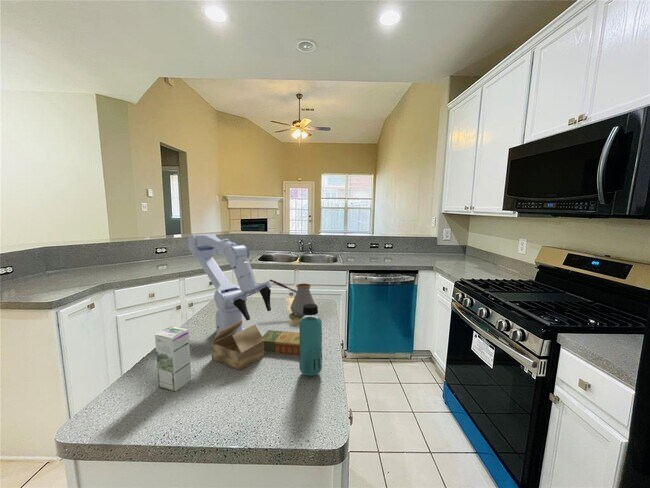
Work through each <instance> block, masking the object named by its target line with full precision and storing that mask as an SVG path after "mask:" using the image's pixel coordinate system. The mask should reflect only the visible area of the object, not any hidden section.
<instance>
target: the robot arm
mask: <svg viewBox="0 0 650 488" xmlns="http://www.w3.org/2000/svg"><path fill="white" fill-rule="evenodd" d="M187 247H188V250H189V251H190V253H191V255H192V256H193V258H196V260H197V261H198V263H199V264H200V266H201V268H202V269H203V271H204V272H205V274H206V275H207V277H208V278H209V280H210V282H211V283H212V285H213V286H214V288H215V289H216V290H215V291H214V295H213V299H214V301H215V305H216V307H217V310H216V312H215V330H213V331H214V333H216V334H217V333H218V331H219V330H222V329H224V328H226V327H229V326H231V325H233V324H235V323H238V322H240V321H243V317H244V319H245V321H250V320H251V316H250V314H249V312H248V307H247V299H248V298H249V297H251V296H252V295H255V294H257V293H259V294H260V296H261V297H262V300H263V302H264V304H265V309H266V310H267V312H270V311H272V308H271V293H272V292H271V291H272V290H271V288H272V287H273V285H272V282H271V281H270V280H268V281H265V282H262V283H259V284H258V282H257V280H256V276H255V273H254V272H253V269H252V266H251V263H250V261H249V258H250V250H249V248H248V247H247V246H246V245H245V244H241V245H240V244H239V245H238V244H237V243H236V242H232V241H230V239H229V238H223V239H220V238H219V237H217V234H215V233H212V232H211V233H202V234H201V233H198V234H192V233H191V234H189V236H188V238H187ZM217 253H218V254H219V255H221V256H223V257H224V258H225V259H226V261H227V263H228V264H229V266H230V268H231V269H232V270H233V272H234V275H235V278H236V280H237V284H235V283H231V282H230V281H229V280H228V278H227V276H226V275H225V273H224V272H223V270H222V269H221V268H220V266H219V265H218V263H217V261H216V260H215V259H214V257H215V255H216V254H217ZM244 329H247V328H246V327H244V326H243V323H242V324H241V325H240V326H239V328H238V329H237V330H236V332H240V331H242V330H244ZM236 332H234V333H236ZM232 334H233V333H232ZM230 335H231V334H230ZM228 336H229V335H228Z"/></svg>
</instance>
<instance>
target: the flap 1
mask: <svg viewBox="0 0 650 488" xmlns="http://www.w3.org/2000/svg"><path fill="white" fill-rule="evenodd" d="M241 324H242V325H243V320H242V321H240V322H238V323H235V324H233V325H231V326H229V327H226V328H224V329H222V330H219V331H218V333H216V335H215V336H214V338H212V340H211V344H212V343H214V342H216V341H219V340H221V339H223V338H225V337H227V336H228V335H230V334H232V333H234V332H236V330H237V329H238V328H239V326H240V325H241Z"/></svg>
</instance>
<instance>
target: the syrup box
mask: <svg viewBox="0 0 650 488" xmlns="http://www.w3.org/2000/svg"><path fill="white" fill-rule="evenodd" d="M189 331H190V330H189V329H188V328H182V327H178V326H173V325H172V326H170V327H167V328H165V329H162V330H159V332H157V333H155V334H154V341H155V353H156V354H155V355H156V357H155V358H156V368H157V381H158V382H157V383H158V388H162V389H165V390H168V391H173V392H176V391H178V390H180V389H181V388H182V387H184V386H185V385H187V384H188V383H189V382H191V381H192V369H191V352H190V332H189Z"/></svg>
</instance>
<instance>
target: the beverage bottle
mask: <svg viewBox="0 0 650 488" xmlns="http://www.w3.org/2000/svg"><path fill="white" fill-rule="evenodd" d="M318 313H319V309H318V304H316V303H315V304H306V305H304V306H303V314H305V316H304V317H301V318H300V319H299V321H298V324H299V328H298V331H299V332H298V333H299V335H300V344H299V355H298V359H299V360H298V361H299V371H300V373H301V374H302V375H305V376H311V377H312V376H316V375H319V374H320V373H321V372H322V370H323V369H322V368H323V351H322V350H323V348H322V347H323V343H322V342H323V329H322V328H323V327H322V325H323V320H322V319H321V318H320V317H319V316H318Z"/></svg>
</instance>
